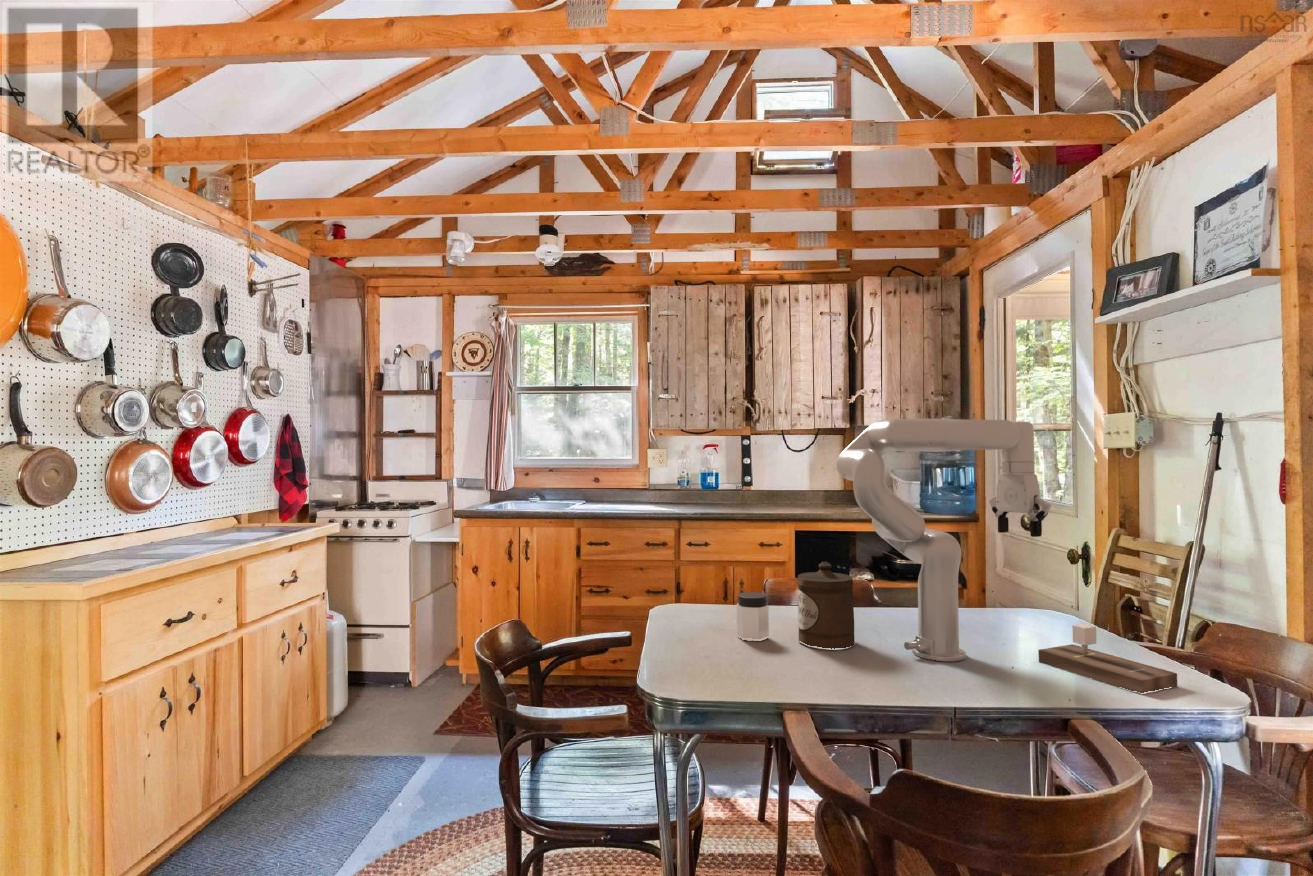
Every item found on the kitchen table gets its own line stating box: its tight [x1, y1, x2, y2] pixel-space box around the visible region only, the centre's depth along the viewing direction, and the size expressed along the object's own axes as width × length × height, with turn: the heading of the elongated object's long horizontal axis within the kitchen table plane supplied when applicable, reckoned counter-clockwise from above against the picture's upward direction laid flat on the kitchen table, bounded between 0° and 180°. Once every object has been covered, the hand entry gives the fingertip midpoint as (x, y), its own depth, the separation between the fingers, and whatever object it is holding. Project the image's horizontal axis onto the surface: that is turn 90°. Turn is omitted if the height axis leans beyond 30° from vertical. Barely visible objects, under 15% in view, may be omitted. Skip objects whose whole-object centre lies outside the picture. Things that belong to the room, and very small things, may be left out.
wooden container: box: [797, 561, 855, 649], centre depth 180 cm, size 15×15×22 cm
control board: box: [1038, 644, 1178, 693], centre depth 153 cm, size 12×24×3 cm, turn 22°
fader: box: [1072, 623, 1097, 655], centre depth 157 cm, size 4×3×7 cm
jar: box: [736, 591, 770, 639], centre depth 185 cm, size 9×8×12 cm
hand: (1019, 534), depth 171 cm, fingers open, 9 cm apart
